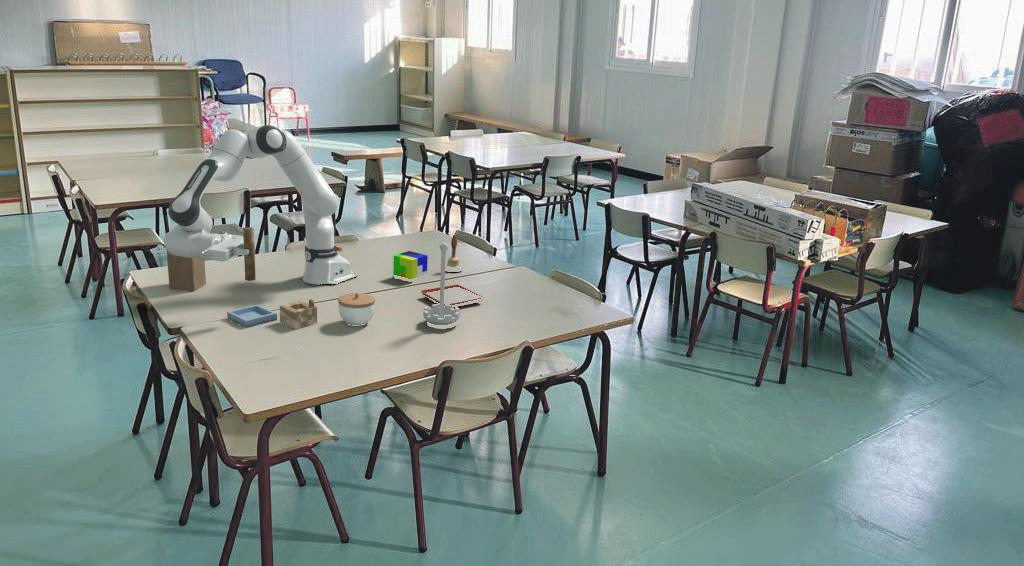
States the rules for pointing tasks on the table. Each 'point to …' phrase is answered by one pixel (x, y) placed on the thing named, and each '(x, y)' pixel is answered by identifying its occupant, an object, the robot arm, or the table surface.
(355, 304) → the lidded bowl
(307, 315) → the block
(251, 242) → the dowel
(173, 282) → the wooden block
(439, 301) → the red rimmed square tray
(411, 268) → the puzzle toy
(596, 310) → the table surface
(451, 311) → the flag stand
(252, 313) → the tray
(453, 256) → the hand bell
